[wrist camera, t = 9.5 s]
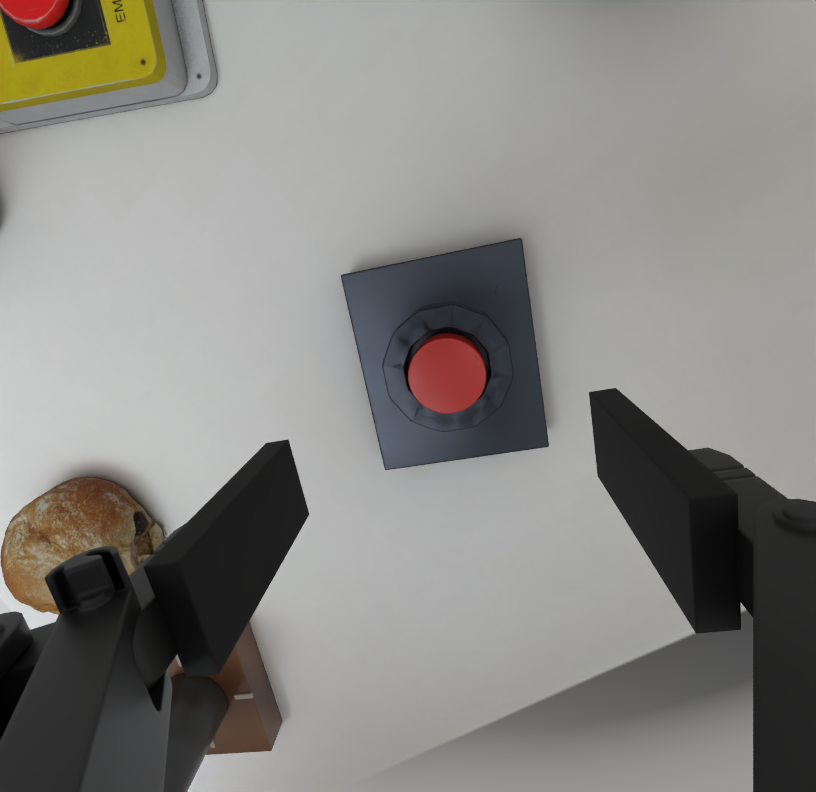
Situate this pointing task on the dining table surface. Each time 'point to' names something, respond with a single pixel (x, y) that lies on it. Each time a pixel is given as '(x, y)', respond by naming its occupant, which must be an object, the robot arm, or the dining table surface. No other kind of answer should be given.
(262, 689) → the dial panel
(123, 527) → the bread roll
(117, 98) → the emergency button
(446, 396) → the button
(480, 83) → the dining table surface
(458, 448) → the button box
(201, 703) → the dial
